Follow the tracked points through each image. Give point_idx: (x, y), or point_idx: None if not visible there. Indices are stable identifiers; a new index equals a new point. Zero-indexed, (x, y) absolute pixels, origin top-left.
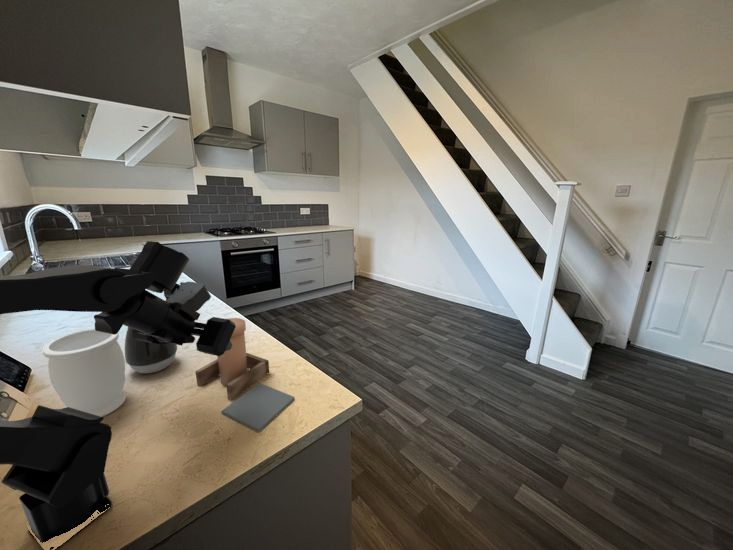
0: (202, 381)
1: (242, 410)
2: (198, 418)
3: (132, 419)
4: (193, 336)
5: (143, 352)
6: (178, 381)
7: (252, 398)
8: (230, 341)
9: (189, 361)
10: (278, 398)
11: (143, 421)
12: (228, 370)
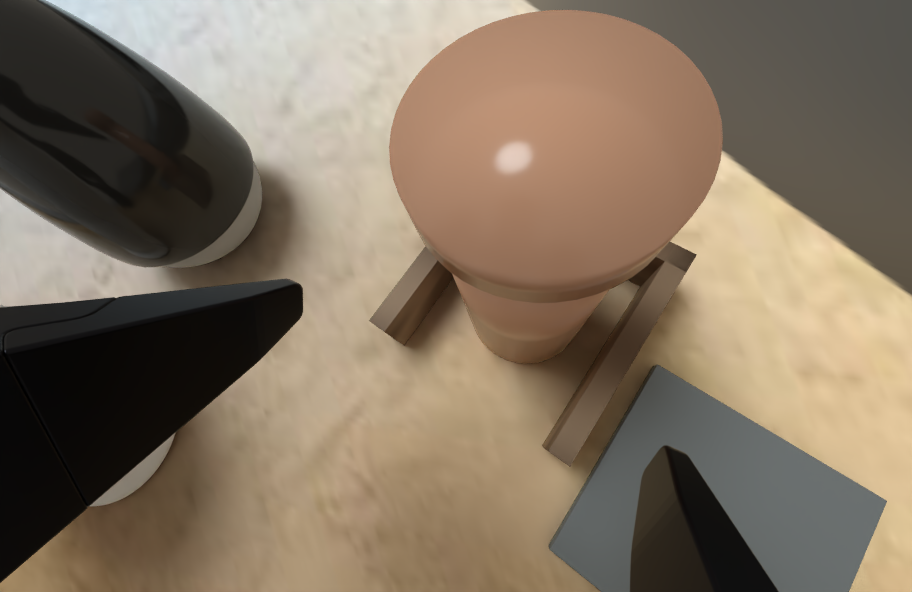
0: (407, 333)
1: None
2: (463, 559)
3: (233, 517)
4: (278, 291)
5: (113, 233)
6: (318, 308)
7: None
8: (744, 542)
9: (319, 189)
10: (800, 500)
11: (272, 537)
12: (527, 349)
